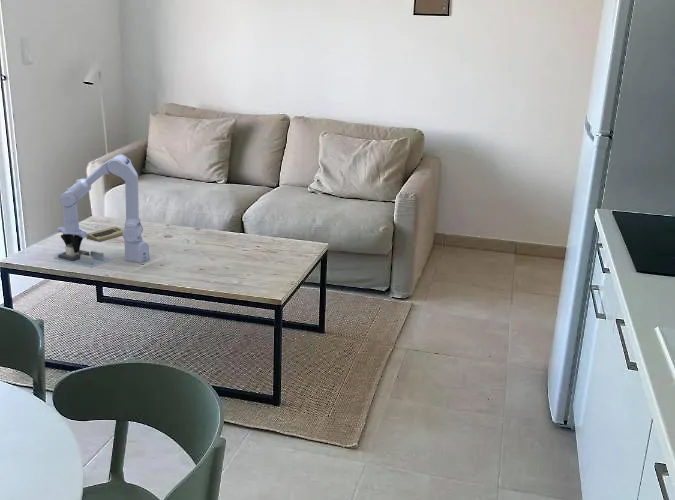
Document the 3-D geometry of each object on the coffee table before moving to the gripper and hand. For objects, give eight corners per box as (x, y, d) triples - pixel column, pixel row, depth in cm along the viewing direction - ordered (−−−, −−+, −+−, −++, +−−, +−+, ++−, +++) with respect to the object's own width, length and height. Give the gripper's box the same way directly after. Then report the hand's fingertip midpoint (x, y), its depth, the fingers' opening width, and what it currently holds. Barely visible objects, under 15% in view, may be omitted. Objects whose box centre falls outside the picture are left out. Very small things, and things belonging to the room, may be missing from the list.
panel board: (113, 261, 299) (113, 259, 298) (91, 270, 288) (91, 267, 288) (75, 252, 307) (74, 250, 307) (53, 260, 297) (53, 258, 296)
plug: (78, 255, 300) (77, 243, 298) (71, 258, 296) (70, 245, 294) (73, 254, 301) (72, 241, 299) (66, 257, 297) (64, 244, 296)
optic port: (89, 255, 302) (88, 251, 301) (73, 261, 294) (72, 257, 293) (74, 251, 305) (74, 247, 304) (58, 257, 297) (58, 253, 297)
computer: (97, 243, 321) (97, 236, 320) (86, 239, 325) (85, 232, 324) (126, 235, 333) (125, 228, 332) (114, 232, 337) (114, 225, 336)
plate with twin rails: (103, 259, 297) (103, 253, 296) (91, 264, 291) (91, 257, 290) (92, 257, 299) (92, 250, 298) (80, 262, 294) (80, 255, 293)
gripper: (50, 219, 294) (53, 250, 298) (76, 225, 288) (79, 257, 292) (63, 215, 300) (66, 246, 304) (89, 220, 294) (92, 252, 298)
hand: (73, 251), depth 299 cm, fingers closed on plug, 3 cm apart
